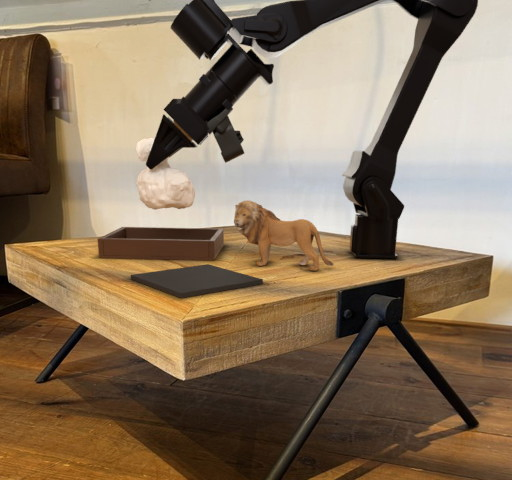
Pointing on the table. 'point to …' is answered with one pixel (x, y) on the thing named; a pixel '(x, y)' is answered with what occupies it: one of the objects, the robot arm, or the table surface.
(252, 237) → the lion figurine
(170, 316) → the table surface
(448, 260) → the table surface
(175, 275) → the charcoal mat
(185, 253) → the walnut tray
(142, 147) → the bust
